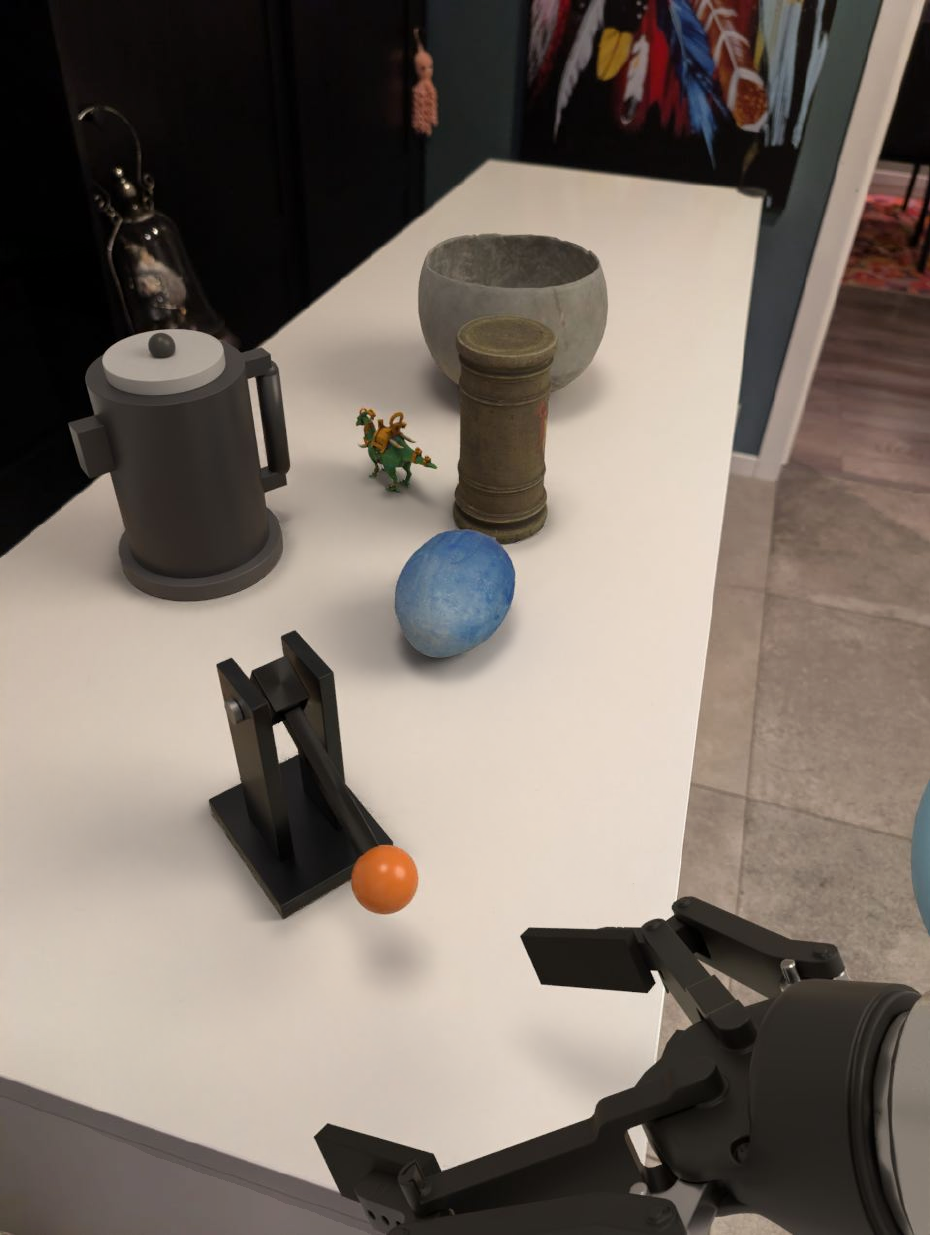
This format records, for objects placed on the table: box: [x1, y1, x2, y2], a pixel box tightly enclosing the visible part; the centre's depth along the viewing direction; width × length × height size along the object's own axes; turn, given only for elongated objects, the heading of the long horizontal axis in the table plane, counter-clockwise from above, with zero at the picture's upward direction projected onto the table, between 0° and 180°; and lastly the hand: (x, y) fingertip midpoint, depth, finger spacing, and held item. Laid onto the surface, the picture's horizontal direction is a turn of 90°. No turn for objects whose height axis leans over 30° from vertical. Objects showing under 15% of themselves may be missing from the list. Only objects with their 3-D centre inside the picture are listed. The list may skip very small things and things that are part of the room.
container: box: [452, 315, 558, 544], centre depth 85 cm, size 9×9×18 cm
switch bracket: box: [208, 630, 394, 919], centre depth 58 cm, size 10×8×15 cm
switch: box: [249, 655, 419, 915], centre depth 53 cm, size 15×4×4 cm, turn 37°
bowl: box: [417, 232, 609, 394], centre depth 105 cm, size 20×20×15 cm
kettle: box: [68, 328, 291, 602], centre depth 79 cm, size 17×14×20 cm
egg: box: [394, 529, 516, 659], centre depth 76 cm, size 9×9×15 cm
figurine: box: [355, 407, 438, 492], centre depth 92 cm, size 3×12×8 cm, turn 43°
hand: (445, 1046), depth 43 cm, fingers open, 13 cm apart
